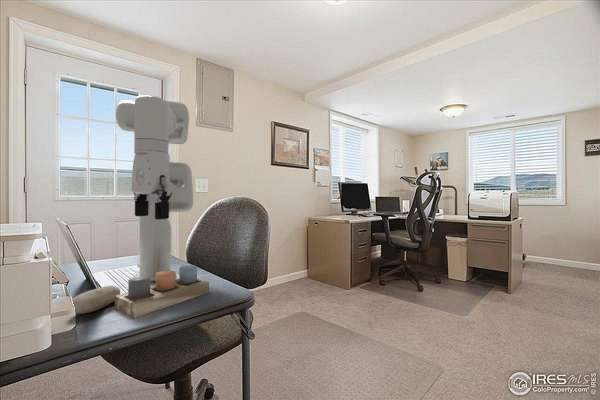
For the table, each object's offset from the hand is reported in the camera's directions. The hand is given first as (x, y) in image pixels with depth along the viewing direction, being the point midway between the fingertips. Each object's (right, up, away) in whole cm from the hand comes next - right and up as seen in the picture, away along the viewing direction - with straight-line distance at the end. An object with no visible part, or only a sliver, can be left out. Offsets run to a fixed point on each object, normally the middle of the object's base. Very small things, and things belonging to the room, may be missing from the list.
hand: (151, 217), depth 71 cm
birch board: (+1, -23, +6) cm, 24 cm away
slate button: (+4, -19, +12) cm, 23 cm away
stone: (-14, -23, 0) cm, 27 cm away
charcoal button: (-3, -19, 0) cm, 20 cm away
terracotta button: (+1, -19, +6) cm, 20 cm away
